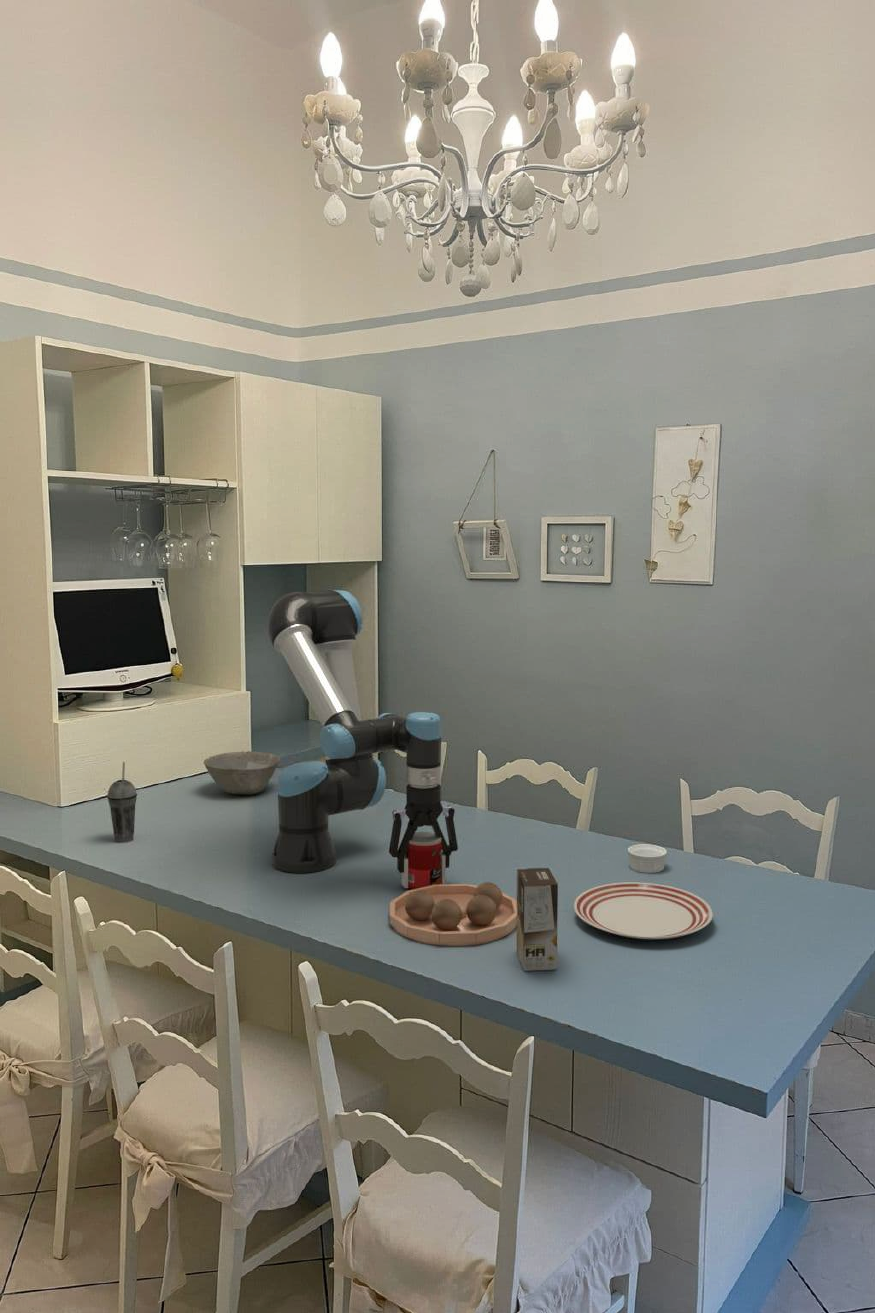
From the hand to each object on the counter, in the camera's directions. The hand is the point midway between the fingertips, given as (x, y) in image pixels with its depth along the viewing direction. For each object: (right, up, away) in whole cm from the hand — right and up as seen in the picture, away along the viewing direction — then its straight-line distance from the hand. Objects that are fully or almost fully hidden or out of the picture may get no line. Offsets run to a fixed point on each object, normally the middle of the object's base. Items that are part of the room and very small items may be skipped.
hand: (423, 883), depth 220 cm
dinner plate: (+45, -4, -19) cm, 49 cm away
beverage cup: (-77, +3, +34) cm, 84 cm away
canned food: (0, 0, 0) cm, 1 cm away
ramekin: (+52, +1, +12) cm, 53 cm away
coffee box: (+21, -6, -37) cm, 43 cm away
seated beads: (+7, -2, -19) cm, 21 cm away
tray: (+7, -3, -18) cm, 19 cm away
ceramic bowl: (-55, +9, +78) cm, 96 cm away
